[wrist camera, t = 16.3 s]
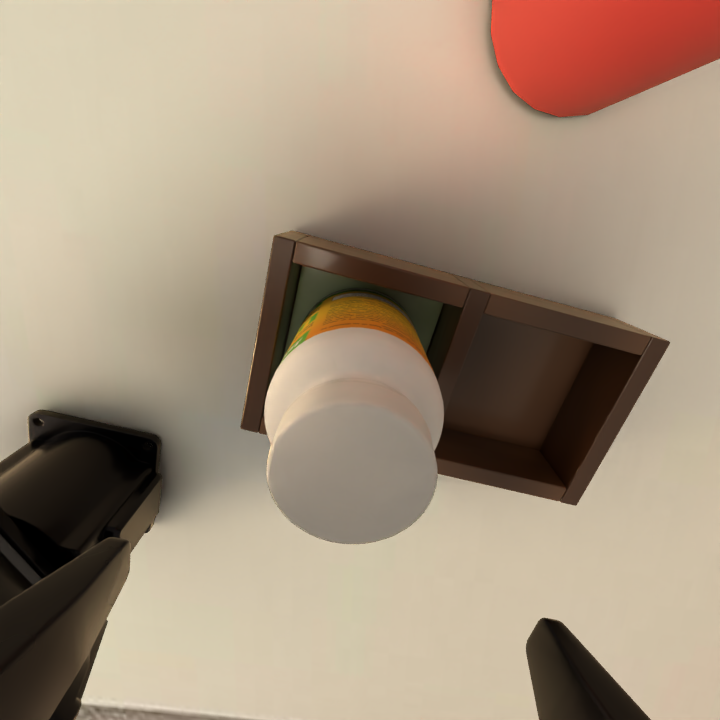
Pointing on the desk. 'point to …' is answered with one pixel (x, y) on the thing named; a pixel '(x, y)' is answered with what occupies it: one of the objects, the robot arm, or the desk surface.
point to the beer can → (599, 48)
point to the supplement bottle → (354, 421)
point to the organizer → (477, 364)
